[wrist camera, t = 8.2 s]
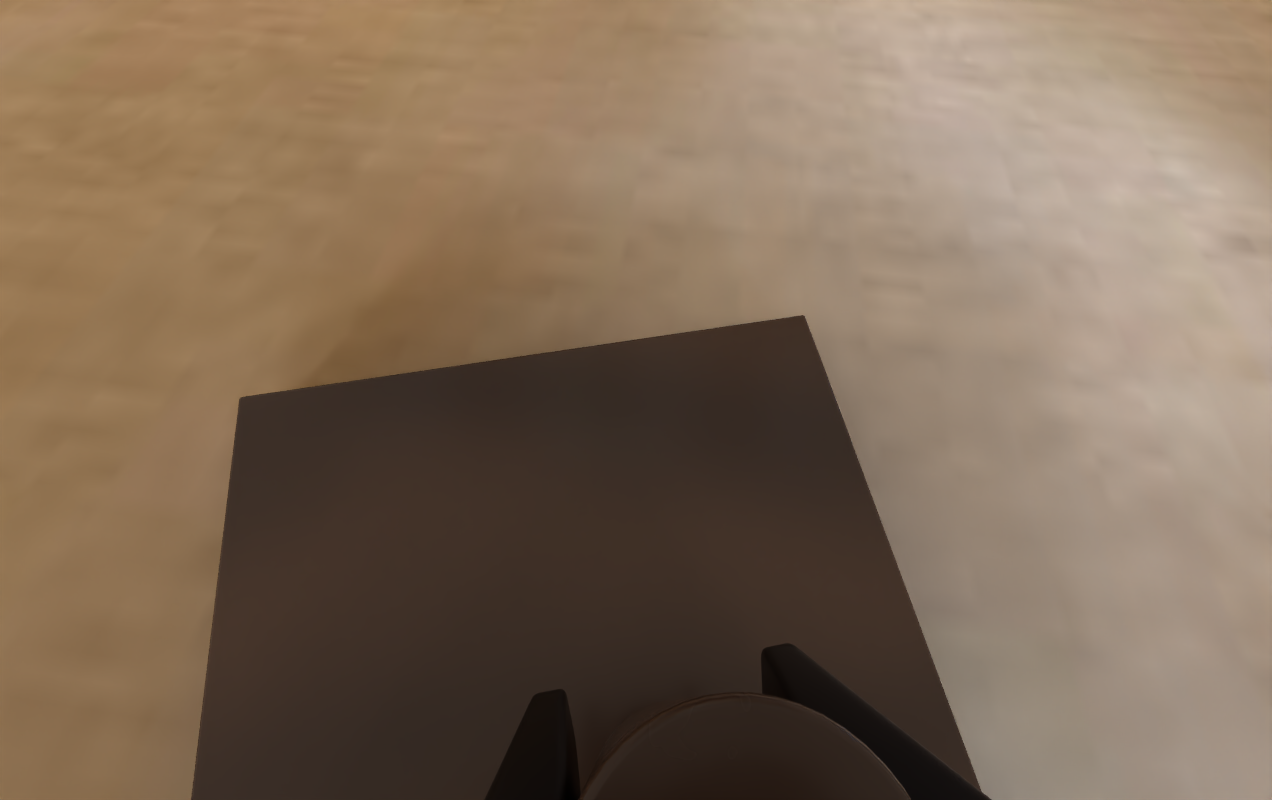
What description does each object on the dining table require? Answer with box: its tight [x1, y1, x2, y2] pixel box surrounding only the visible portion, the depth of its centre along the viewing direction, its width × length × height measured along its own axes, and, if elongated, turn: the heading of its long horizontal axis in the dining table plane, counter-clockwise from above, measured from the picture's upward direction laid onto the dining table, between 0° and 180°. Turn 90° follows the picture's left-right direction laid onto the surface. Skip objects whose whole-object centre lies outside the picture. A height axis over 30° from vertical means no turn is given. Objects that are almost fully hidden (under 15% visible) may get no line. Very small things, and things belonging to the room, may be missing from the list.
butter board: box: [191, 315, 981, 800], centre depth 13 cm, size 20×16×2 cm
